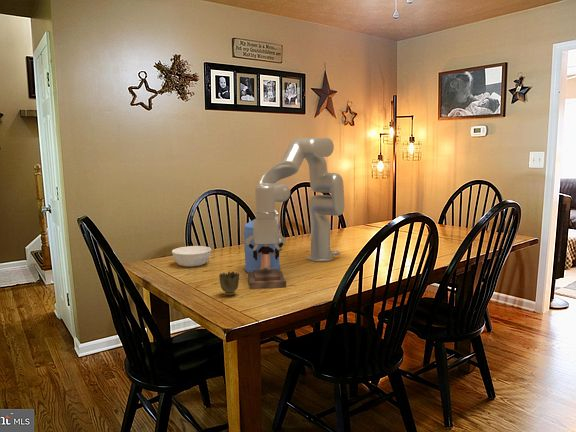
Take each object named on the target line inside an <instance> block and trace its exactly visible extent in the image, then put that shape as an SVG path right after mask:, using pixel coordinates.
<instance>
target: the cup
mask: <svg viewBox="0 0 576 432" xmlns="http://www.w3.org/2000/svg"><path fill="white" fill-rule="evenodd" d="M218 277H219V284H220V288H221V290H222V291H223V292H224V294H225V296H226V297H232V296H234V295H235V291H237V289H238V288H239V283H240V282H239V281H240V273H239V272H234V271H232V272H231V271H228V272H227V273H225V272H223V273H220V274H219V275H218Z"/></svg>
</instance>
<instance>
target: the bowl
mask: <svg viewBox="0 0 576 432" xmlns="http://www.w3.org/2000/svg"><path fill="white" fill-rule="evenodd" d="M171 253H172V257H173V259H174V261H175V263H177V264H178V265H179V266H182V267H189V268H191V267H199V266H202V265H204V264H206V263H207V262H208V260H209V258H210V256H212V255H211V254H212V248H211V247H209V246H203V245H190V246H189V245H188V246H181V247H177V248H174V249H172V250H171Z"/></svg>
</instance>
